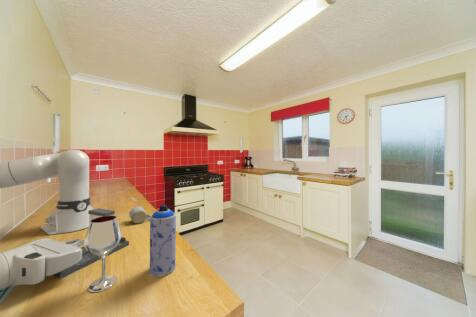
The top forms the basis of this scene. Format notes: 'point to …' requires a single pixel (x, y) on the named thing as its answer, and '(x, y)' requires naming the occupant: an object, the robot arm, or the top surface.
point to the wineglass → (102, 246)
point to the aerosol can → (162, 242)
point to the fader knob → (99, 213)
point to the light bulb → (138, 215)
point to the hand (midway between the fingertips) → (81, 241)
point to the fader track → (88, 259)
